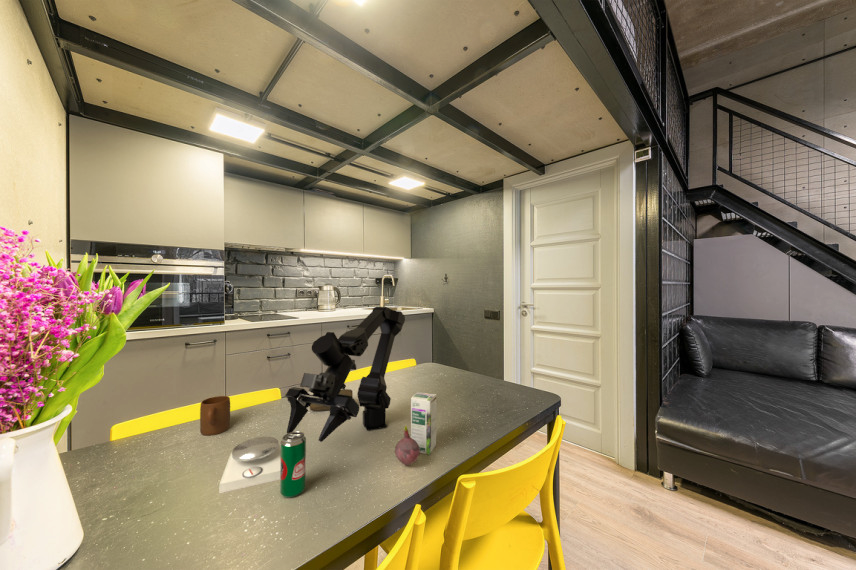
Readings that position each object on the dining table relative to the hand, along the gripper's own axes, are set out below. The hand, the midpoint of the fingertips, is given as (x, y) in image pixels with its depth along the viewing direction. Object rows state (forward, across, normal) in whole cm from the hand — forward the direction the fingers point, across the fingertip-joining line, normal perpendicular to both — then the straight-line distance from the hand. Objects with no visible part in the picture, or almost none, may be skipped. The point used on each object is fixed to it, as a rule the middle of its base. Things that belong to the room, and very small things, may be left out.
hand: (303, 437), depth 69 cm
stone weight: (-19, -22, +34) cm, 44 cm away
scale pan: (+5, -16, +6) cm, 18 cm away
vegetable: (-3, +19, +18) cm, 26 cm away
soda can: (+10, 0, +5) cm, 11 cm away
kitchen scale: (+7, -15, +7) cm, 18 cm away
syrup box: (-10, +20, +24) cm, 33 cm away
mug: (+1, -42, +13) cm, 44 cm away
